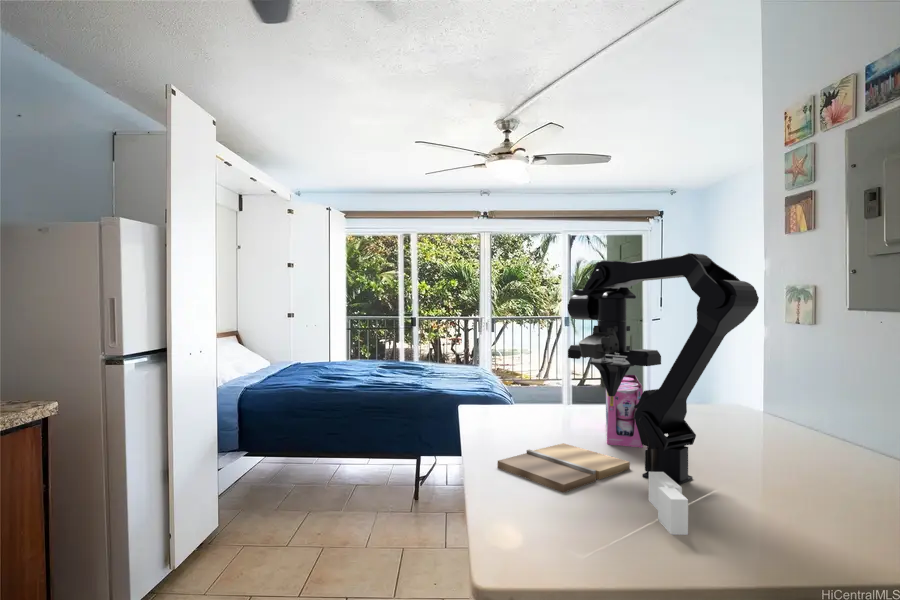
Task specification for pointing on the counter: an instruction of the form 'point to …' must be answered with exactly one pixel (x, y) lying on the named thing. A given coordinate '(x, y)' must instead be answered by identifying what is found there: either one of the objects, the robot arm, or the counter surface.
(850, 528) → the counter surface
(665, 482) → the napkin holder
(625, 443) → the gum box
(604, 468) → the oak plank
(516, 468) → the walnut board
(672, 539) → the counter surface
